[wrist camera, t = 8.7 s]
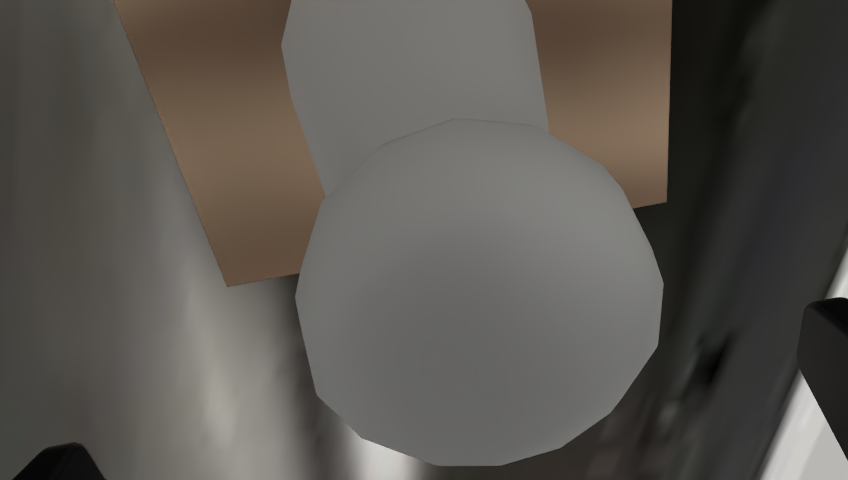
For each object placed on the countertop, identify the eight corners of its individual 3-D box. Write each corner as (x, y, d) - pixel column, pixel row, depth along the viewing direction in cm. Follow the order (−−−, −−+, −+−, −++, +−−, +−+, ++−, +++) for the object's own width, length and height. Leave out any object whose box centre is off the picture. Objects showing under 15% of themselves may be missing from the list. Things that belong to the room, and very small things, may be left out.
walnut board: (659, 192, 23) (666, 201, 22) (229, 275, 23) (227, 286, 22) (671, -375, 15) (682, -381, 15) (25, -246, 15) (14, -247, 15)
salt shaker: (285, 120, 20) (215, 544, 9) (291, -110, 17) (195, 96, 6) (492, 136, 20) (666, 539, 10) (533, -79, 17) (857, 150, 7)
